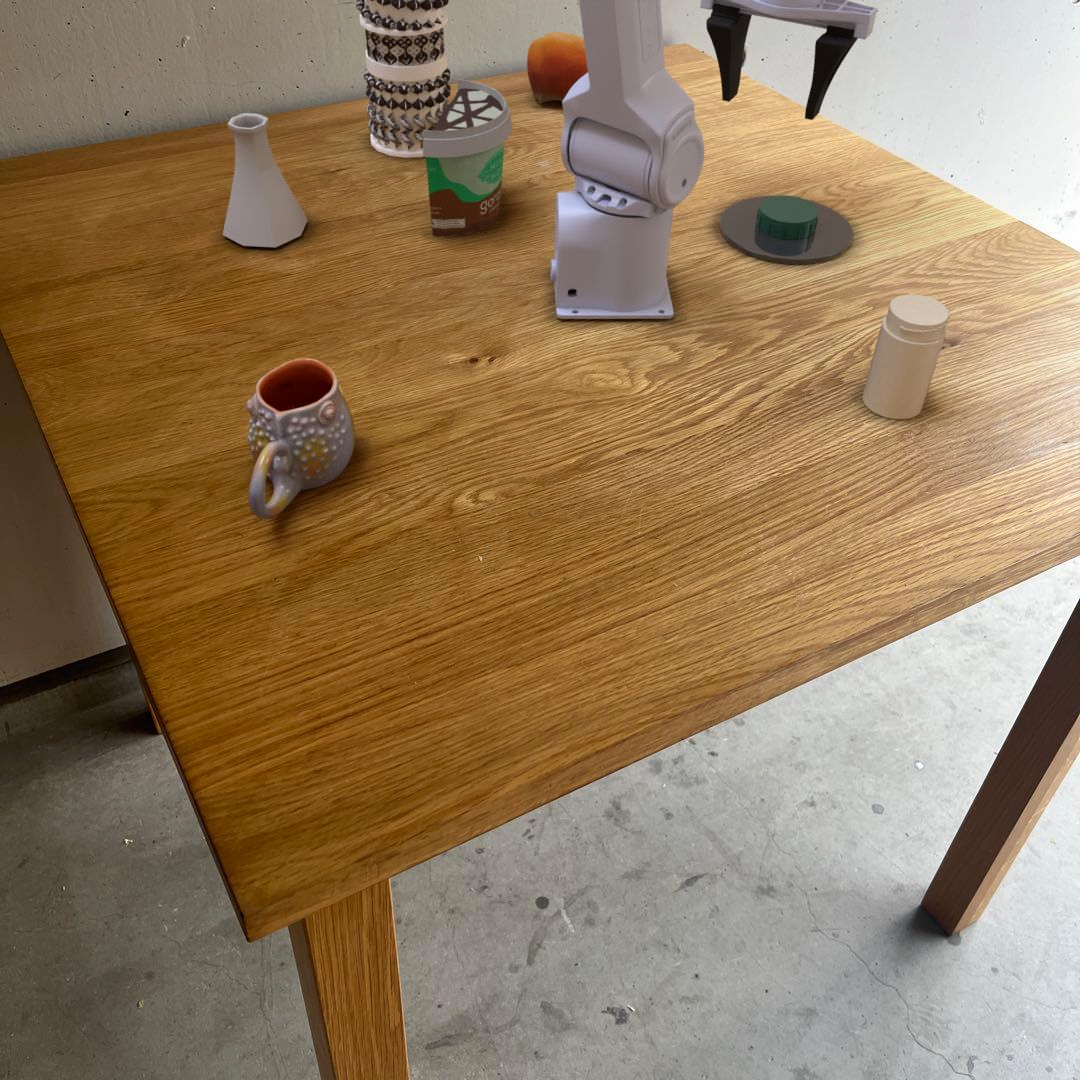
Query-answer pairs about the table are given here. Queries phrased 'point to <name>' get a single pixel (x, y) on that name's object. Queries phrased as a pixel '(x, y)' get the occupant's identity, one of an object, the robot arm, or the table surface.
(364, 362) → the table surface
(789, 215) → the lid
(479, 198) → the food container
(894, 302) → the jar
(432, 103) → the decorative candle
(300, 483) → the mug
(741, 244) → the coaster
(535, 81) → the fruit
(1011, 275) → the table surface
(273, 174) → the flask
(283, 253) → the table surface
